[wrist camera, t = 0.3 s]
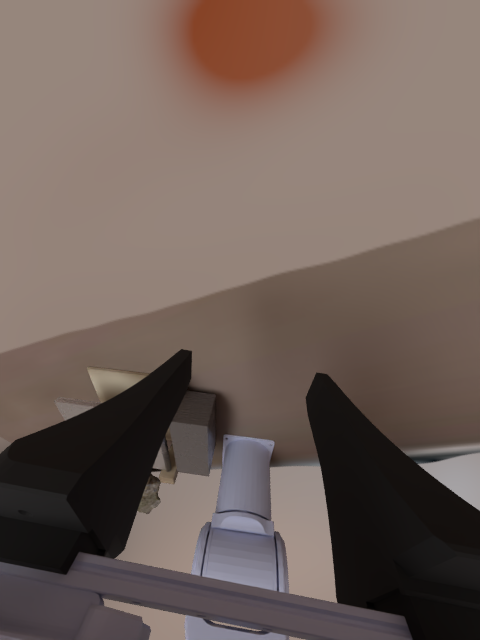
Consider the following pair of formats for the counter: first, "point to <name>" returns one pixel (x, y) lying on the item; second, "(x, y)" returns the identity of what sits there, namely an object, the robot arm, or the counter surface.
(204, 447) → the trapdoor
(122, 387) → the frame
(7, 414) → the counter surface
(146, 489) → the rock
